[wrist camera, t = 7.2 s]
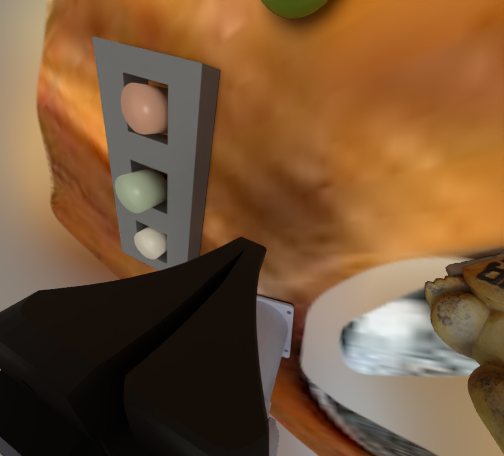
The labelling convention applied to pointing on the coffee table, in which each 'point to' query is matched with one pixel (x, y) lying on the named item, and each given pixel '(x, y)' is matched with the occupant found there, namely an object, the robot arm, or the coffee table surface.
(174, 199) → the button panel
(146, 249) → the cream button
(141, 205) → the sage button
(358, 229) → the coffee table surface
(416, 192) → the coffee table surface
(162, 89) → the terracotta button
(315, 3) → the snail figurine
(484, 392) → the decorative figurine
